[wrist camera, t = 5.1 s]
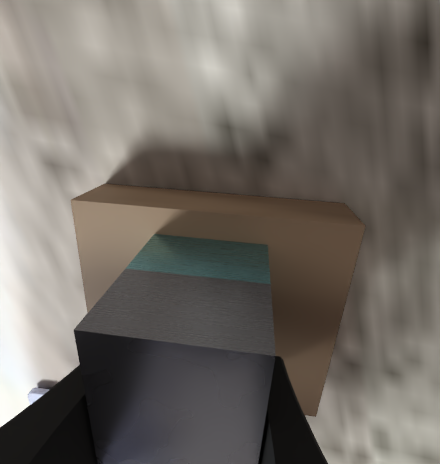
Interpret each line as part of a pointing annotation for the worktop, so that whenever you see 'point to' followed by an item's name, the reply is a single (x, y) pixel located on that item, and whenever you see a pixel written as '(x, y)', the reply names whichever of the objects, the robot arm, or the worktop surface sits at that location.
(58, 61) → the worktop surface
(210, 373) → the block
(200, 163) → the worktop surface
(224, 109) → the worktop surface
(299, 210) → the tan flat block
